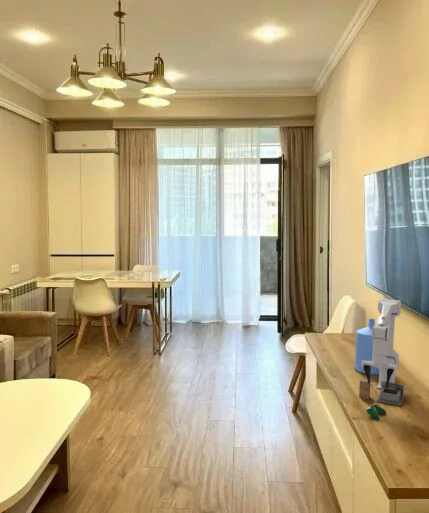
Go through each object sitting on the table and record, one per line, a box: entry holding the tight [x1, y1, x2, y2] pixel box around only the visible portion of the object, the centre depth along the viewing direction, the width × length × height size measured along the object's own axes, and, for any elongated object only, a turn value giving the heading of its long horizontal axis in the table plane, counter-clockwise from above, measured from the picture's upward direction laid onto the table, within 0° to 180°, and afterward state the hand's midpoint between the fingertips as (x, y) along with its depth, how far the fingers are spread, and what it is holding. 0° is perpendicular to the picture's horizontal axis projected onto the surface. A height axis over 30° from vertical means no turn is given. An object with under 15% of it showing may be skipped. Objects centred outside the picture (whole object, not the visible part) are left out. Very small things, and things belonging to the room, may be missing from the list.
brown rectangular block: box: [358, 378, 371, 400], centre depth 231 cm, size 4×4×8 cm
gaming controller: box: [365, 402, 387, 421], centre depth 210 cm, size 9×4×6 cm
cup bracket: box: [376, 381, 405, 407], centre depth 229 cm, size 12×10×6 cm
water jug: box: [354, 318, 380, 376], centre depth 269 cm, size 16×16×28 cm
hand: (378, 384), depth 219 cm, fingers open, 7 cm apart
